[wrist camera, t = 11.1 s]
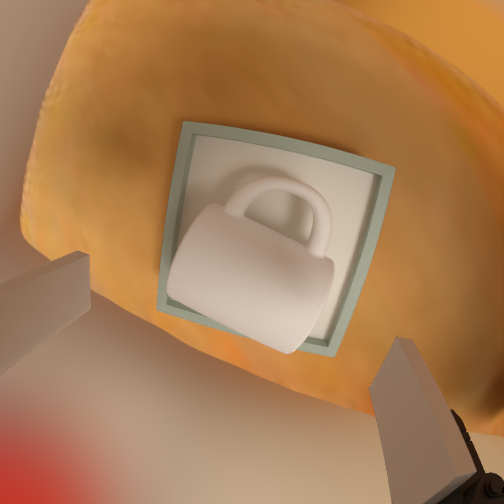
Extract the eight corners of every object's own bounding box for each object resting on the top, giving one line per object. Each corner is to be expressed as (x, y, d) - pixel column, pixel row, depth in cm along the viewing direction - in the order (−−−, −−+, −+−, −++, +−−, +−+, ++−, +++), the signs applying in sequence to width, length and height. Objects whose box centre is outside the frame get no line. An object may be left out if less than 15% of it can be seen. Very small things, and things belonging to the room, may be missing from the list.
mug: (287, 322, 26) (282, 375, 18) (192, 275, 26) (154, 312, 19) (351, 207, 22) (376, 221, 15) (244, 155, 23) (218, 144, 15)
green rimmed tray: (373, 169, 27) (395, 167, 20) (328, 322, 32) (334, 357, 25) (208, 132, 28) (183, 120, 22) (183, 284, 33) (156, 309, 27)
